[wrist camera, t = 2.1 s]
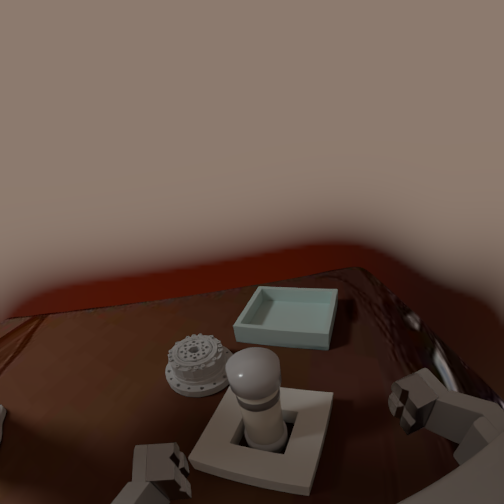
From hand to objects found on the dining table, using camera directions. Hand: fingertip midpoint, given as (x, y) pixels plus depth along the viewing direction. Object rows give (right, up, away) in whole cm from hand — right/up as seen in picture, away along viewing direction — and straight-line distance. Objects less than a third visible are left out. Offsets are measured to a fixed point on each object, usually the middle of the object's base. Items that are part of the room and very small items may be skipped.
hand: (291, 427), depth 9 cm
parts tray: (+5, -5, +38) cm, 39 cm away
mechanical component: (-8, -11, +30) cm, 33 cm away
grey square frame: (0, -14, +19) cm, 23 cm away
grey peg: (0, -14, +19) cm, 23 cm away
